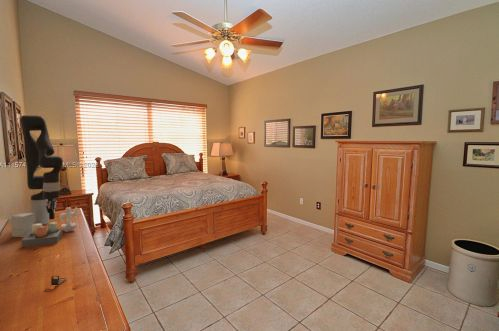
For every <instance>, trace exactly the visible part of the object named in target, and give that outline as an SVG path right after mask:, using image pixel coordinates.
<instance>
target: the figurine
mask: <svg viewBox="0 0 499 331" xmlns="http://www.w3.org/2000/svg"><path fill="white" fill-rule="evenodd" d="M78 212H79V211H78V207H74V210H73V211H72V207H70V206H69V207H65V212H62V213H60V214H59V217H58V218H59V219H58V221H59V223H62V224H60V226H61V227H62V230H63V232H64V233H66V232H72V231H75V229H76V227H77V226H78V224H77V223H76V222H75V221H73V222H72V217H77V216H78ZM63 219H66V222H65V223H63V222H64V220H63Z"/></svg>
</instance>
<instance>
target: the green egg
mask: <svg viewBox="0 0 499 331" xmlns="http://www.w3.org/2000/svg"><path fill="white" fill-rule="evenodd" d="M57 229H58V222H57V221H53V222H51V221H50V222H49V223H48V224H47V230H48V233H57Z"/></svg>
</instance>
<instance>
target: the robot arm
mask: <svg viewBox="0 0 499 331" xmlns="http://www.w3.org/2000/svg"><path fill="white" fill-rule="evenodd" d="M20 124H21V125H20V127H21V130H22V137H23V145H24V147H23V148H24V156H25V163H26V174H27V175H26V178H27V179H26V181H27V188H28V189H29V190H42V191H40V192H37V193H35V194H32V195H31V196H30V211H31V212H30V213H34V224H38V223H41V224H42V226H45V225H48V223H50V220H54V219H55V212H56V211H57V210H56V209H57V203H58V200H56V199H58V198H60V197H61V195H60V194H61V193H60V191H61V190H60V173H61V169H62V167H63V158H62V157H61V156H60V155H54V154H55V149H54V147H53V145H52V143H51V142H52V141H51V139H50V135H49V130H48V127H47V123H46V120H45V118H44V117H43V116H42V115H31V114H30V115H21V117H20ZM32 131H35V132H36V131H40V134H39V135H38V137H37V139H36V140H35V138H34V137H33V136H32V134H31V132H32ZM39 167H41V168H43V169H51V170H50V171H46V172H44V173H43V175H35V173H36V171H37V169H39Z"/></svg>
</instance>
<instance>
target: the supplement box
mask: <svg viewBox="0 0 499 331" xmlns="http://www.w3.org/2000/svg"><path fill="white" fill-rule="evenodd" d="M33 224H34V213H31V212H22V213H21V212H20V213H18V214H15V215H11V236H12V237H14V238H25V237H26V235H27V234H28V233H29V232H32V225H33Z"/></svg>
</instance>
